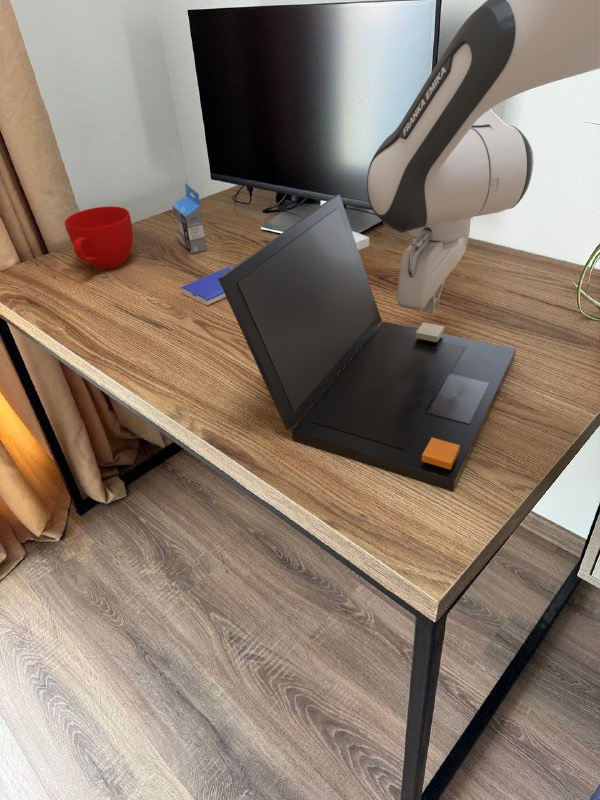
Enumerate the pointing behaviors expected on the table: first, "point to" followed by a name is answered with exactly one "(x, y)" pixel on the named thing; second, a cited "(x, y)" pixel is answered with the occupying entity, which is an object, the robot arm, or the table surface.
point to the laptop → (408, 402)
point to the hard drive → (206, 288)
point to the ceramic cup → (101, 236)
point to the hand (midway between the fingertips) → (430, 308)
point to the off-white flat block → (429, 332)
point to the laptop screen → (303, 307)
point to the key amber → (440, 453)
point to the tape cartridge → (190, 222)
